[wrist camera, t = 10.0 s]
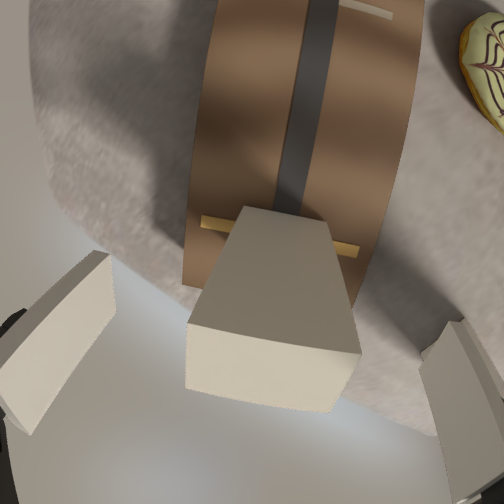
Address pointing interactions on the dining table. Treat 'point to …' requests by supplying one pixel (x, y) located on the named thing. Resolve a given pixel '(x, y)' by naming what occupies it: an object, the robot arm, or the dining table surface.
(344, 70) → the brown flat block
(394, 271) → the dining table surface
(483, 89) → the decorated donut
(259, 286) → the fader tab
